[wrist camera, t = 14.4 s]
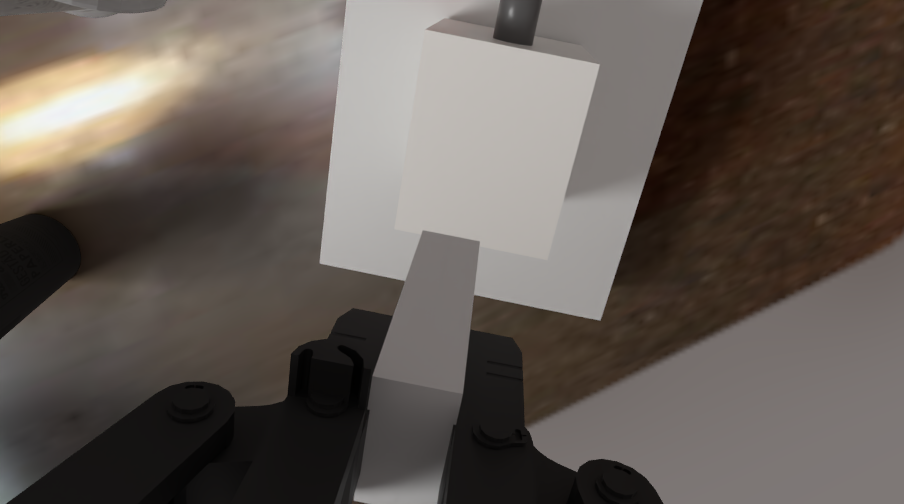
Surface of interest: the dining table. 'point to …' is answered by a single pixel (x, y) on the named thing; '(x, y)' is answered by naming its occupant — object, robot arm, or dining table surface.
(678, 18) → the socket
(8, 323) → the drinking cup
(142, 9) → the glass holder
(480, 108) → the plug
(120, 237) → the dining table surface
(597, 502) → the robot arm
